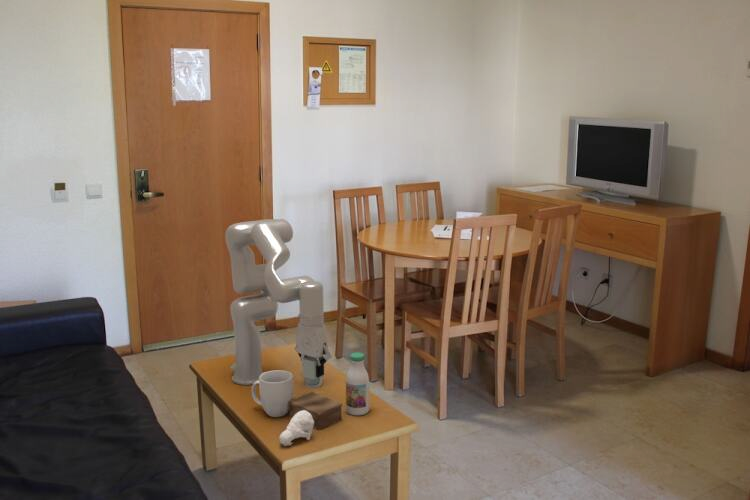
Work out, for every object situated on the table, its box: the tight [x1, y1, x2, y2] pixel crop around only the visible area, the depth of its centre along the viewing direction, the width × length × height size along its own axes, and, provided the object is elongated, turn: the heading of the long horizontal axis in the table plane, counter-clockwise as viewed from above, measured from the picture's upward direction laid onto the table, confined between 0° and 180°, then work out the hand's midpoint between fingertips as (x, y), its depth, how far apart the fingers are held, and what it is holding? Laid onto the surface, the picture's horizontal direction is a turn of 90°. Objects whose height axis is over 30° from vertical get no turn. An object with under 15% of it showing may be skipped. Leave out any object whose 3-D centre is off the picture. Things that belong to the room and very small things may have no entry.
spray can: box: [304, 376, 323, 389], centre depth 263 cm, size 6×6×20 cm
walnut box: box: [289, 391, 343, 431], centre depth 236 cm, size 14×10×6 cm
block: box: [301, 356, 321, 380], centre depth 233 cm, size 5×5×6 cm
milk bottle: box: [345, 352, 370, 416], centre depth 240 cm, size 8×8×20 cm
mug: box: [250, 369, 294, 418], centre depth 241 cm, size 15×11×13 cm
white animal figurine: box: [278, 410, 314, 447], centre depth 221 cm, size 6×8×12 cm
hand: (313, 373), depth 233 cm, fingers closed on block, 5 cm apart
